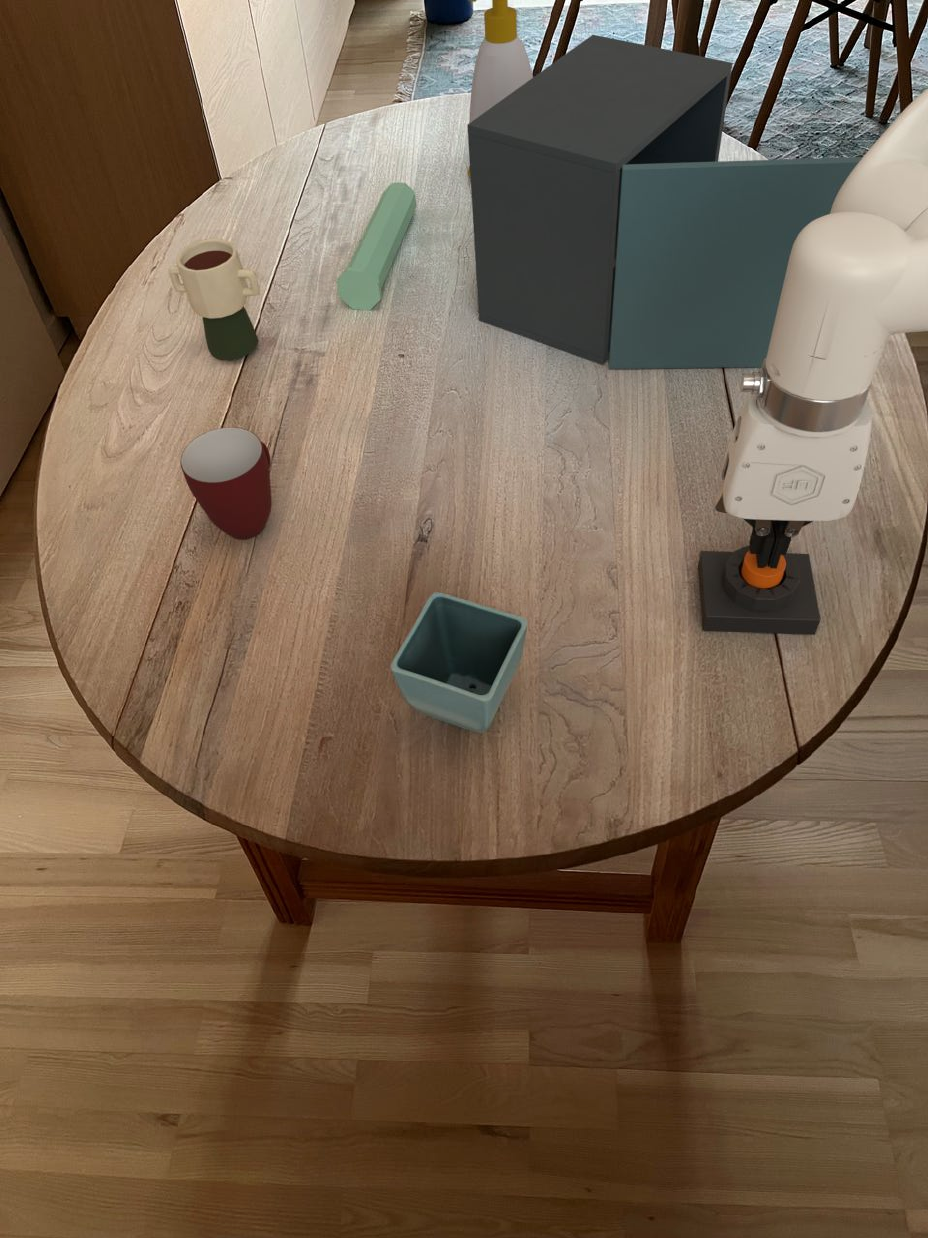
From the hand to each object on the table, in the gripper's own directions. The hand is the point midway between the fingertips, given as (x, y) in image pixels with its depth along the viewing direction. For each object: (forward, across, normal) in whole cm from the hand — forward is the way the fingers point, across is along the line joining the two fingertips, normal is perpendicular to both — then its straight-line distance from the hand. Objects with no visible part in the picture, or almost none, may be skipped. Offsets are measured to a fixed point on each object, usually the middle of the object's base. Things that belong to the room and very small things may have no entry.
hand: (765, 556), depth 84 cm
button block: (+6, 0, 0) cm, 6 cm away
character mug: (+6, -60, +38) cm, 71 cm away
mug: (+7, -51, +9) cm, 52 cm away
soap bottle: (+6, -29, +81) cm, 86 cm away
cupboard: (+6, -15, +51) cm, 54 cm away
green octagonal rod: (+6, -44, +59) cm, 74 cm away
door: (+6, 0, +32) cm, 32 cm away
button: (+3, 0, 0) cm, 3 cm away
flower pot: (+6, -26, -13) cm, 30 cm away
